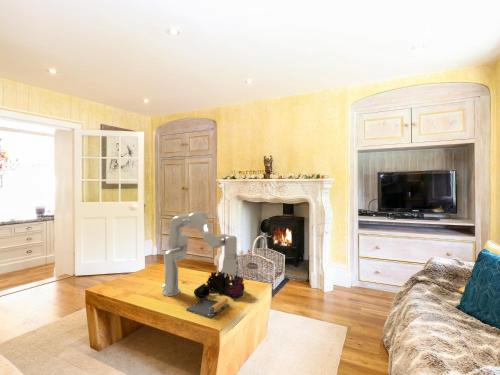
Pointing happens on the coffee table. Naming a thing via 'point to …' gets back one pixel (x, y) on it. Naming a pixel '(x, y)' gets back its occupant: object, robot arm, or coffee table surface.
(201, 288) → the dark grey toy house
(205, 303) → the tray
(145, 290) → the coffee table surface
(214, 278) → the flower arrangement
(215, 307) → the bar
